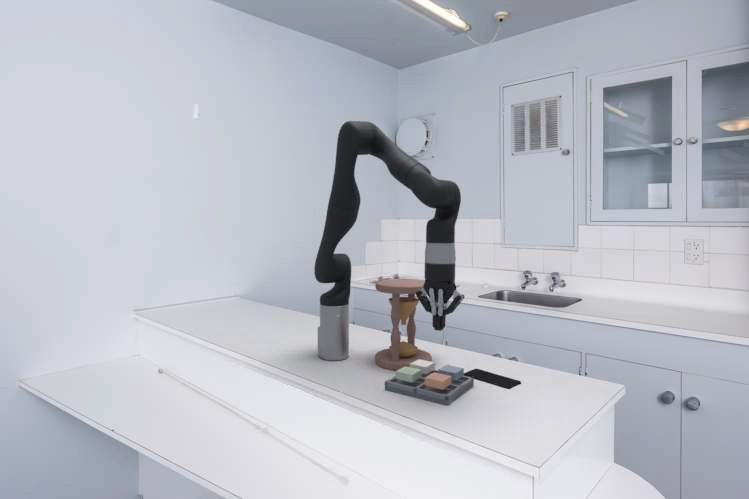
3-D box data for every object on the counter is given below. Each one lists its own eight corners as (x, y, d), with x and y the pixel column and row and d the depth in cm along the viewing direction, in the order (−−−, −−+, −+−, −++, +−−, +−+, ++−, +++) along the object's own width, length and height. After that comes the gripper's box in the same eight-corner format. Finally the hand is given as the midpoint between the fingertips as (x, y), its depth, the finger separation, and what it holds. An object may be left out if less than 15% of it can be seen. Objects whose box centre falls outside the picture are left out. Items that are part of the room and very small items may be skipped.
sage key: (395, 378, 123) (395, 371, 123) (405, 373, 127) (405, 366, 127) (412, 382, 120) (412, 374, 120) (421, 377, 124) (421, 369, 124)
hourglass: (411, 375, 134) (412, 288, 132) (363, 363, 144) (364, 283, 143) (441, 360, 148) (443, 281, 146) (396, 350, 158) (396, 277, 157)
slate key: (438, 377, 124) (438, 369, 124) (446, 371, 128) (446, 364, 128) (455, 380, 121) (455, 373, 121) (463, 375, 125) (463, 368, 125)
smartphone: (508, 388, 123) (461, 373, 134) (508, 391, 124) (461, 376, 134) (522, 381, 128) (475, 368, 139) (522, 384, 128) (475, 370, 139)
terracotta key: (424, 385, 118) (424, 377, 118) (433, 379, 122) (433, 372, 122) (442, 389, 115) (442, 381, 115) (451, 383, 119) (451, 376, 119)
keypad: (384, 389, 123) (384, 381, 123) (414, 373, 136) (414, 365, 136) (447, 405, 113) (447, 396, 112) (473, 385, 126) (473, 377, 126)
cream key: (409, 370, 129) (410, 363, 129) (418, 366, 133) (418, 359, 133) (426, 374, 126) (426, 367, 126) (434, 369, 130) (434, 362, 130)
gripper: (409, 260, 117) (408, 329, 118) (458, 263, 109) (457, 336, 111) (423, 258, 123) (422, 323, 124) (471, 261, 116) (469, 330, 117)
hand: (438, 329), depth 118 cm, fingers closed
